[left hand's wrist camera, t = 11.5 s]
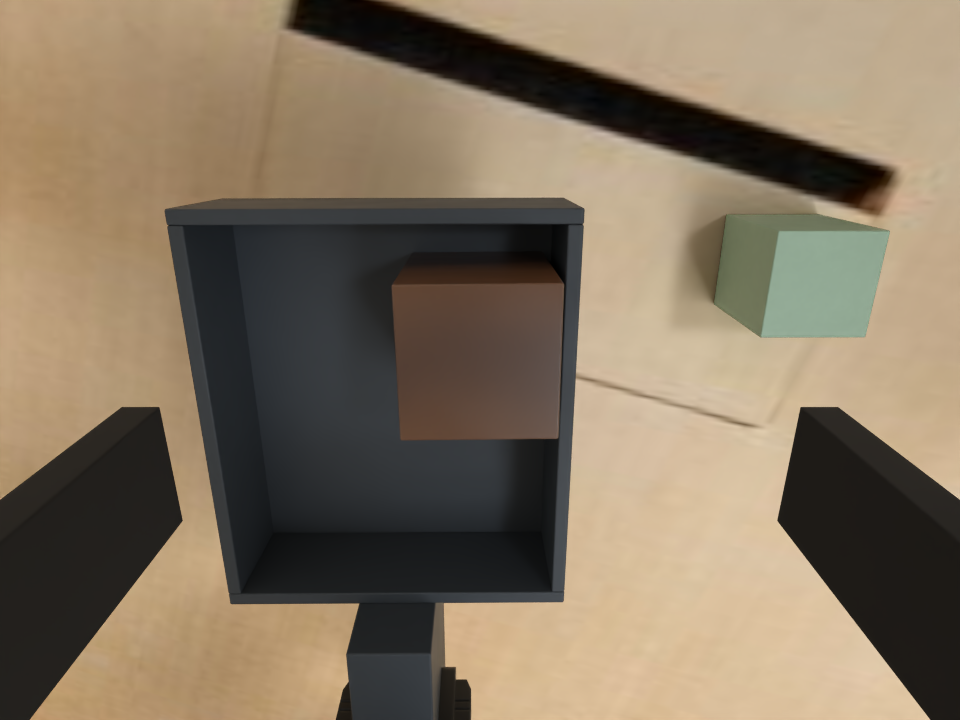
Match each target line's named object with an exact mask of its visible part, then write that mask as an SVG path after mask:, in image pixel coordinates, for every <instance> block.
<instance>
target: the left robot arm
mask: <svg viewBox="0 0 960 720" xmlns="http://www.w3.org/2000/svg"><path fill="white" fill-rule="evenodd" d="M182 521H183V520H182V515H181V510H180V506H179V501H178V496H177V491H176V486H175V481H174V476H173V471H172V467H171V462H170V457H169V452H168V447H167V442H166V437H165V432H164V428H163V423H162V418H161V413H160V408H159V407H121V408H120V409H119V410H118V411H116V412H115V413H114V414H112V415H111V416H110V417H108V418H107V419H106V420H104V421H103V422H102V423H100V424H99V425H98V426H97V427H95V428H94V429H93V430H91V431H90V432H89V433H87V434H86V435H85V436H83V437H82V438H81V439H79V440H78V441H77V442H76V443H74V444H73V445H72V446H70V447H69V448H68V449H66V450H65V451H64V452H62V453H61V454H60V455H58V456H57V457H56V458H55V459H53V460H52V461H51V462H49V463H48V464H47V465H45V466H44V467H43V468H41V469H40V470H39V471H37V472H36V473H35V474H34V475H32V476H31V477H30V478H28V479H27V480H26V481H24V482H23V483H22V484H20V485H19V486H18V487H16V488H15V489H14V490H13V491H11V492H10V493H9V494H7V495H6V496H5V497H3V498H2V499H1V500H0V720H30V718H31V717H32V716H33V715H34V713H35V712H36V711H37V709H38V708H39V707H40V705H41V704H42V703H43V702H44V700H45V699H46V698H47V696H48V695H49V694H50V692H51V691H52V690H53V689H54V687H55V686H56V685H57V683H58V682H59V681H60V679H61V678H62V677H63V676H64V674H65V673H66V672H67V670H68V669H69V668H70V666H71V665H72V664H73V663H74V661H75V660H76V659H77V657H78V656H79V655H80V653H81V652H82V651H83V650H84V648H85V647H86V646H87V644H88V643H89V642H90V640H91V639H92V638H93V637H94V635H95V634H96V633H97V631H98V630H99V629H100V627H101V626H102V625H103V624H104V622H105V621H106V620H107V618H108V617H109V616H110V615H111V613H112V612H113V611H114V609H115V608H116V607H117V605H118V604H119V603H120V602H121V600H122V599H123V598H124V596H125V595H126V594H127V592H128V591H129V590H130V589H131V587H132V586H133V585H134V583H135V582H136V581H137V579H138V578H139V577H140V576H141V574H142V573H143V572H144V570H145V569H146V568H147V566H148V565H149V564H150V563H151V561H152V560H153V559H154V557H155V556H156V555H157V553H158V552H159V551H160V550H161V548H162V547H163V546H164V544H165V543H166V542H167V540H168V539H169V538H170V537H171V535H172V534H173V533H174V531H175V530H176V529H177V527H178V526H179V525H180V524H181V522H182ZM777 521H778V522H779V524H780V525H781V526H782V527H783V529H784V530H785V531H786V533H787V534H788V535H789V537H790V538H791V539H792V540H793V542H794V543H795V544H796V546H797V547H798V548H799V550H800V551H801V552H802V553H803V555H804V556H805V557H806V559H807V560H808V561H809V563H810V564H811V565H812V566H813V568H814V569H815V570H816V572H817V573H818V574H819V576H820V577H821V578H822V579H823V581H824V582H825V583H826V585H827V586H828V587H829V589H830V590H831V591H832V592H833V594H834V595H835V596H836V598H837V599H838V600H839V602H840V603H841V604H842V605H843V607H844V608H845V609H846V611H847V612H848V613H849V615H850V616H851V617H852V618H853V620H854V621H855V622H856V624H857V625H858V626H859V627H860V629H861V630H862V631H863V633H864V634H865V635H866V637H867V638H868V639H869V640H870V642H871V643H872V644H873V646H874V647H875V648H876V650H877V651H878V652H879V653H880V655H881V656H882V657H883V659H884V660H885V661H886V663H887V664H888V665H889V666H890V668H891V669H892V670H893V672H894V673H895V674H896V676H897V677H898V678H899V679H900V681H901V682H902V683H903V685H904V686H905V687H906V689H907V690H908V691H909V692H910V694H911V695H912V696H913V698H914V699H915V700H916V702H917V703H918V704H919V705H920V707H921V708H922V709H923V711H924V712H925V713H926V715H927V716H928V717H929V718H930V720H960V500H959V499H958V498H957V497H955V496H954V495H953V494H951V493H950V492H949V491H947V490H946V489H945V488H944V487H942V486H941V485H940V484H938V483H937V482H936V481H934V480H933V479H932V478H930V477H929V476H928V475H926V474H925V473H924V472H923V471H921V470H920V469H919V468H917V467H916V466H915V465H913V464H912V463H911V462H909V461H908V460H907V459H905V458H904V457H903V456H902V455H900V454H899V453H898V452H896V451H895V450H894V449H892V448H891V447H890V446H888V445H887V444H886V443H884V442H883V441H882V440H881V439H879V438H878V437H877V436H875V435H874V434H873V433H871V432H870V431H869V430H867V429H866V428H865V427H863V426H862V425H861V424H860V423H858V422H857V421H856V420H854V419H853V418H852V417H850V416H849V415H848V414H846V413H845V412H844V411H842V410H841V409H840V408H839V407H801V408H800V413H799V418H798V423H797V428H796V432H795V437H794V442H793V447H792V452H791V457H790V462H789V467H788V471H787V476H786V481H785V486H784V491H783V496H782V501H781V506H780V510H779V515H778V520H777Z"/></svg>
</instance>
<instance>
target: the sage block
mask: <svg viewBox="0 0 960 720" xmlns="http://www.w3.org/2000/svg"><path fill="white" fill-rule="evenodd" d="M889 233H890V231H889V230H884V229H880V228H876V227H871V226H867V225H863V224H858V223H854V222H850V221H845V220H841V219H837V218H832V217H828V216H824V215H819V214H727V215H726V221H725V228H724V235H723V243H722V250H721V257H720V264H719V271H718V278H717V286H716V293H715V300H714V305H716V306H717V307H719V308H720V309H721V310H723V311H724V312H726V313H727V314H728V315H730V316H731V317H733V318H734V319H735V320H737V321H738V322H740V323H741V324H742V325H744V326H745V327H747V328H748V329H750V330H751V331H752V332H754V333H755V334H757V335H758V336H759V337H865V335H866V331H867V327H868V323H869V318H870V314H871V310H872V306H873V301H874V297H875V293H876V289H877V284H878V280H879V276H880V272H881V267H882V263H883V259H884V255H885V250H886V246H887V242H888V238H889Z"/></svg>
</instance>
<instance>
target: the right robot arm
mask: <svg viewBox="0 0 960 720" xmlns="http://www.w3.org/2000/svg"><path fill="white" fill-rule="evenodd" d="M336 720H352V710H351V699H350V689H349V682H348V684H347V685H346V686H345V688H344V689H343V692H342V696H341V700H340V704H339V709H338V713H337V717H336ZM438 720H471V688H470V686H469V684H468V682H467V680H456V667H442V671H441V686H440V702H439V717H438Z"/></svg>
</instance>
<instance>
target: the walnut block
mask: <svg viewBox="0 0 960 720" xmlns="http://www.w3.org/2000/svg"><path fill="white" fill-rule="evenodd" d="M391 288H392V306H393V323H394V341H395V358H396V375H397V393H398V410H399V428H400V439H401V440H490V439H557V438H558V433H559V407H560V380H561V353H562V327H563V300H564V283H563V282H562V280H561V279H560V277H559V276H558V274H557V273H556V271H555V270H554V268H553V267H552V265H551V264H550V262H549V261H548V259H547V258H546V256H545V255H544V253H543V252H542V251H511V252H413V253H412V254H411V256H410V257H409V259H408V260H407V262H406V264H405V265H404V267H403V268H402V270H401V271H400V273H399V275H398V276H397V278H396V279H395V281H394V283H393V284H392V286H391Z"/></svg>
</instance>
